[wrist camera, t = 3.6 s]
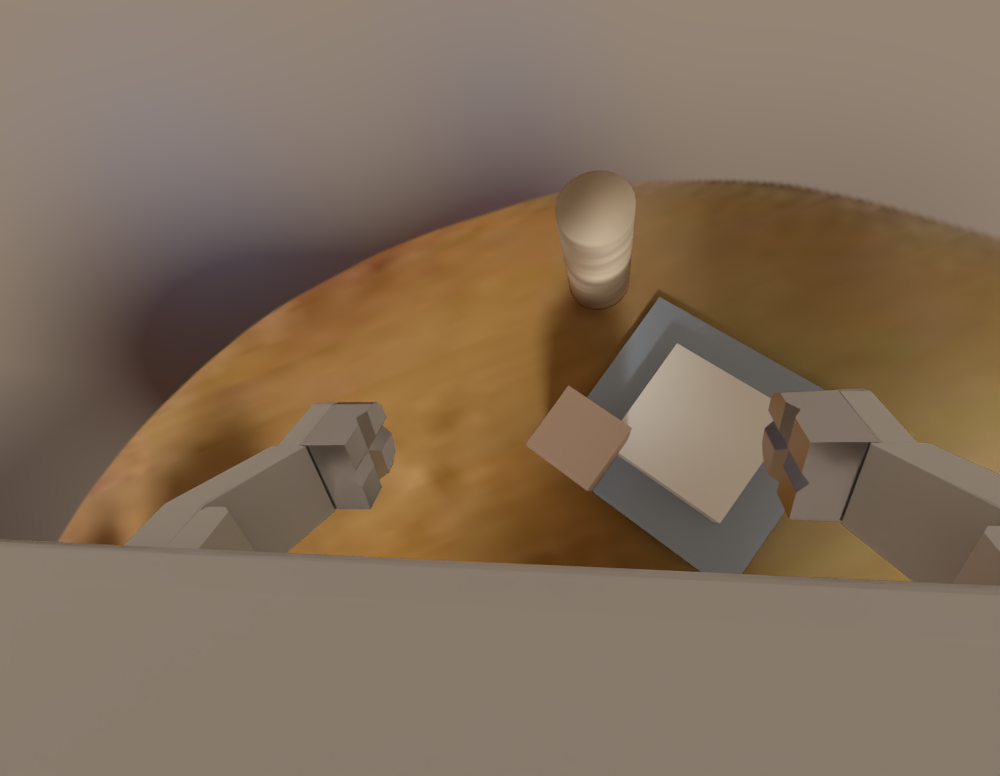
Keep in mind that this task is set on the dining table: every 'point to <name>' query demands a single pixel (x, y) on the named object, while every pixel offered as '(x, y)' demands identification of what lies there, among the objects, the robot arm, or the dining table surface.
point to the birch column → (597, 237)
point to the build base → (655, 500)
